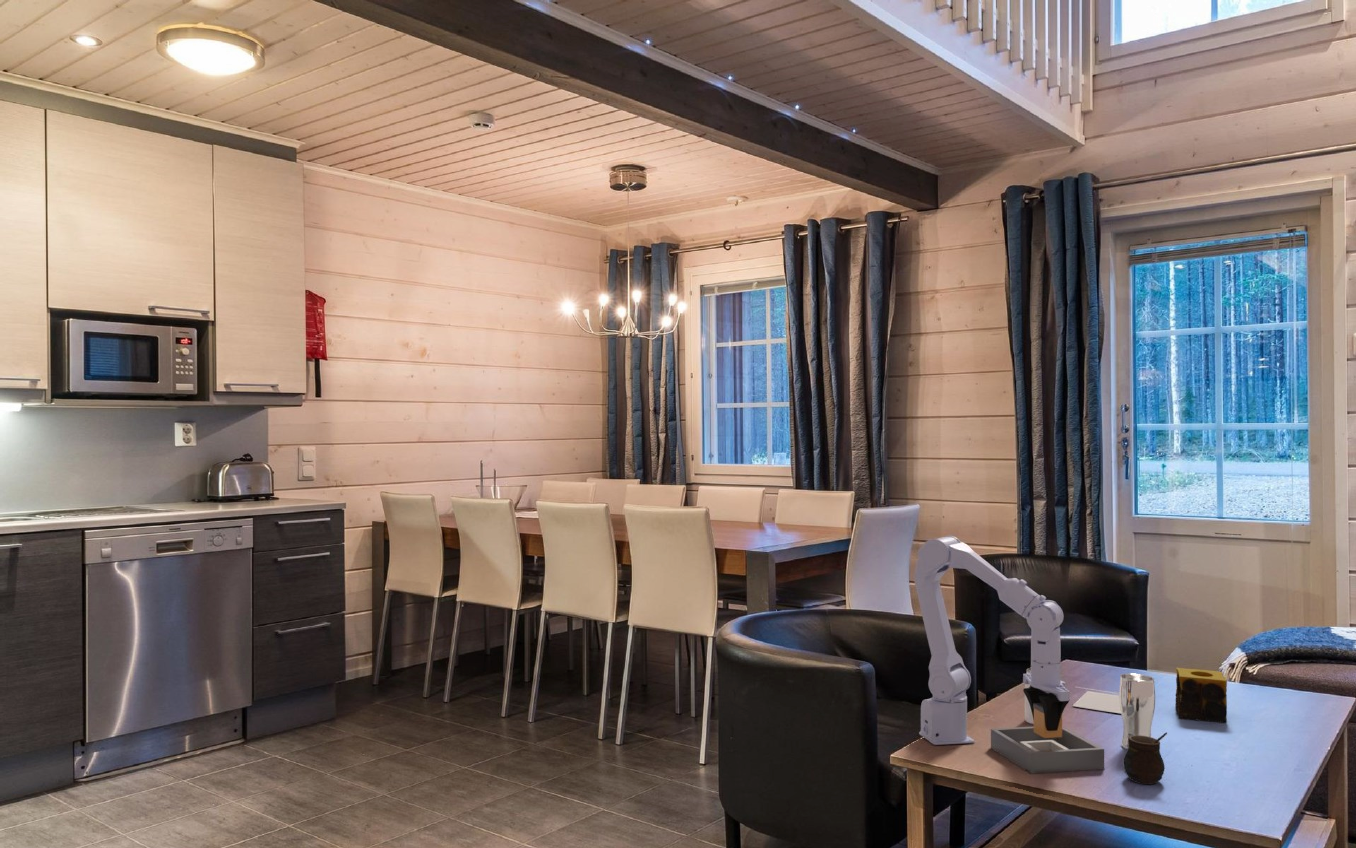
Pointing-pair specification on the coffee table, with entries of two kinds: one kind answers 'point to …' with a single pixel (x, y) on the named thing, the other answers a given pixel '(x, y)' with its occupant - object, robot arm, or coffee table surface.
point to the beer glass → (1136, 705)
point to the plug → (1040, 723)
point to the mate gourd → (1144, 759)
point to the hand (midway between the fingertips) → (1045, 727)
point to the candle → (1201, 695)
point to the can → (1028, 705)
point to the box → (1047, 750)
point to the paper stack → (1099, 701)
